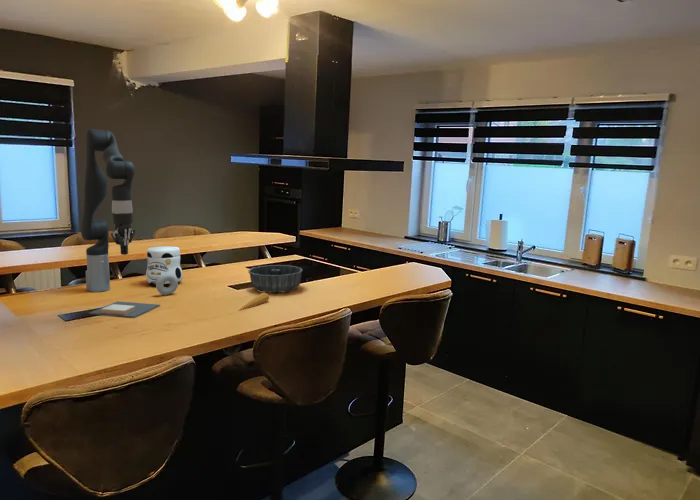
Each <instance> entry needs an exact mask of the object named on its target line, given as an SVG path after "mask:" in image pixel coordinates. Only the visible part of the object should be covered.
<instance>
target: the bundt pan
mask: <svg viewBox="0 0 700 500" xmlns="http://www.w3.org/2000/svg"><path fill="white" fill-rule="evenodd" d="M247 271H248V274H249V278H250V283H251V286H252V287H253V288H254V289H255V290H257V291H258V292H259V293H267V294H268V293H272V294H275V293H289V292H290V291H293V290H296V289H298V287H299V286H300V284H301V281H302V280H301V279H302V273H303V268H301V267H300V266H299V267H298V266H296V265H295V266H293V265H288V264H287V265H285V264H284V265H283V264H282V265H281V264H275V265H274V264H269V265H259V266H254V267H251V268H250V269H248V270H247Z"/></svg>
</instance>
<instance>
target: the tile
mask: <svg viewBox="0 0 700 500" xmlns="http://www.w3.org/2000/svg"><path fill="white" fill-rule="evenodd" d="M111 304H112V303H111ZM109 305H110V304H109ZM106 306H107V305H106ZM104 307H105V306H104ZM101 308H102V307H101ZM132 311H135V306H130V305H117V304H112V305H110V306H107V307H105V308H102V313H107V314H119V315H126V314H128V313H130V312H132Z"/></svg>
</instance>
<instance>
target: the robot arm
mask: <svg viewBox="0 0 700 500" xmlns="http://www.w3.org/2000/svg"><path fill="white" fill-rule="evenodd" d="M96 152H101V153H102V159H103V162H104V163H105V173H104V171H103V169H102V168H101V166H100V164H99V162H98V161H97V158H96ZM135 172H136V166H135V165H134V164H133V162H131V161H127V160H125V159H124V156H123V155H122V154H121V153H120V151H119V146H118V143H117V140H116V136H115V134H114V133H113V132H112V131H110V130H106V129H105V130H104V129H93V128H90V129H89V128H88V129H87V131H86V133H85V175H84V189H83V193H84V194H83V209H82V216H81V217H82V218H81V223H80V224H81V225H80V234H81V237H82V239H83V240H84V241H95V240H96V243H95V244H93V245H91V246H88V247H87V248H86V251H85V253H86V254H85V255H86V256H85V257H86V269H87V270H85V285H86V286H85V287H86V291H89V292H91V293H100V292H106V291H109V290H111V280H110V279H111V278H110V276H111V275H110V264H109V263H110V259H109V249H110V248H109V247H110V246H109V245H110V244H109V235H110V236H111V237H112V240H113V241H114V243H115V244H116V245H119V247H120V254H121V255H122V256H125V255H129V244H131V243H132V242H133V239H134V236H135V233H136V230H135V229H133V228H132V225H131V224H133V223H134V214H133V213H134V212H133V203H132V202H133V201H132V188H133V187H132V185H133V182H134V177H135V175H136V173H135ZM107 177H108V178H110V179H112V180H124V181H123V183H121V184H116V185H113V186H112V187H111V200H112V201H111V213H112V214H111V219H112V224H113V225H114V226H115V227H114V232H112V233H110V231H109V224H108V222H107V220H106V219H93V218H94V217H95V216H94V215H95V213H96V210H98V208H99V207H100V205H101V204H102V203H103V202H104V200H105V199H106V197H107V194H108V185H109V184H108V179H107ZM109 233H110V234H109Z"/></svg>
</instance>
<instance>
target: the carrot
mask: <svg viewBox="0 0 700 500" xmlns="http://www.w3.org/2000/svg"><path fill="white" fill-rule="evenodd" d="M269 300H270V296H269V294H268V293H267V292H260V294H258V295H257V296H255V297H254V298H253V299H251V300H250V301H248V302H247V303H246V304H244V305H243V306H242V307H240V308H239V309H237V311H238V312H239V310H240V311H243V310H246V309H249V307H250V308H252V306H253V307H256V306H258V304H259V305H261V303H262V304H265V303H267V302H268V301H269ZM264 302H265V303H264ZM255 305H256V306H255ZM242 309H243V310H242Z"/></svg>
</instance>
